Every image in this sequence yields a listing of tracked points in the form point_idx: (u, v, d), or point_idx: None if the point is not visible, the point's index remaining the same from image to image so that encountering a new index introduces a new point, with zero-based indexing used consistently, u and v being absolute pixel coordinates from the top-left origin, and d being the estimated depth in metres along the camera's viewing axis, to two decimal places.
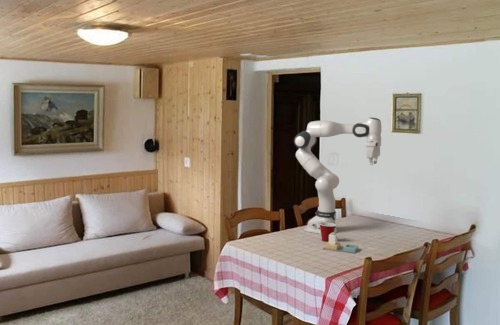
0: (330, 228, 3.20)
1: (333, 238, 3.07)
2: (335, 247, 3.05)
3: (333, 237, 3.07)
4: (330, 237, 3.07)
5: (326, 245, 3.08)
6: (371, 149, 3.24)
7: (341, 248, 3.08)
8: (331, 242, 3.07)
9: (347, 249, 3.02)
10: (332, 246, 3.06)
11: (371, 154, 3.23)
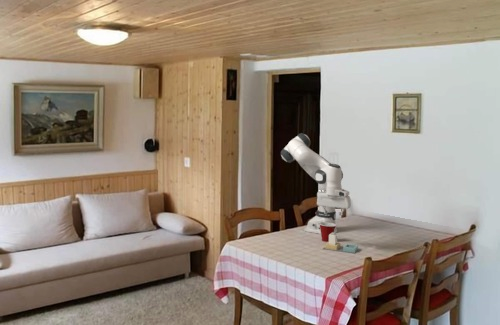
0: (330, 228, 3.20)
1: (333, 238, 3.07)
2: (335, 247, 3.05)
3: (333, 237, 3.07)
4: (330, 237, 3.07)
5: (326, 245, 3.08)
6: (349, 198, 3.03)
7: (341, 248, 3.08)
8: (331, 242, 3.07)
9: (347, 249, 3.02)
10: (332, 246, 3.06)
11: (350, 203, 3.03)
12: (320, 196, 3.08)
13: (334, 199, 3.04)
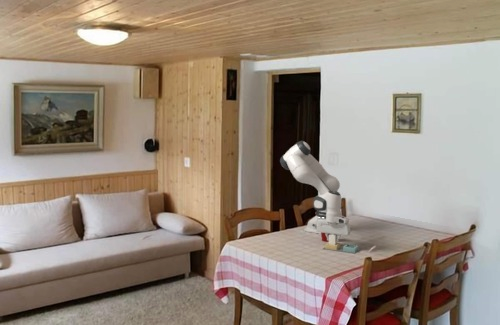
0: None
1: (333, 238, 3.07)
2: (335, 247, 3.05)
3: (333, 237, 3.07)
4: (330, 237, 3.07)
5: (326, 245, 3.08)
6: (349, 225, 3.04)
7: (341, 248, 3.08)
8: (331, 242, 3.07)
9: (347, 249, 3.02)
10: (332, 246, 3.06)
11: None
12: (320, 222, 3.10)
13: (334, 226, 3.06)
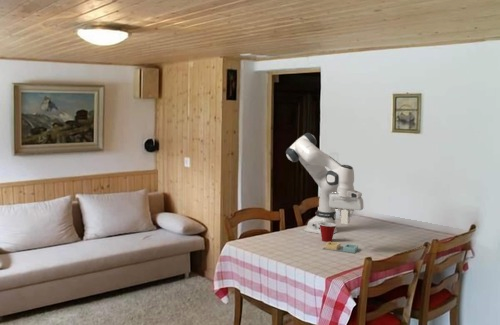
0: (330, 228, 3.20)
1: (345, 213, 3.00)
2: (335, 247, 3.05)
3: (346, 212, 3.00)
4: (342, 212, 3.01)
5: (326, 245, 3.08)
6: (362, 199, 2.98)
7: (341, 248, 3.08)
8: (344, 217, 3.01)
9: (347, 249, 3.02)
10: (332, 246, 3.06)
11: None
12: (332, 197, 3.04)
13: (346, 201, 3.00)
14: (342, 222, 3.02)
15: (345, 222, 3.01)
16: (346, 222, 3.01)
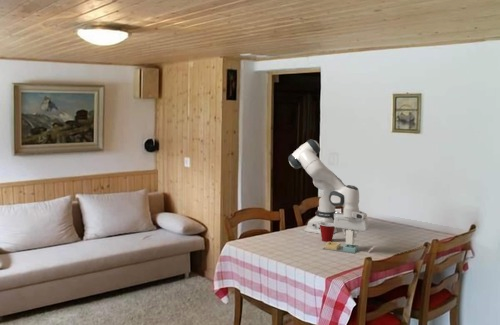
0: (330, 228, 3.20)
1: (350, 234, 3.01)
2: (335, 247, 3.05)
3: (350, 232, 3.01)
4: (347, 232, 3.02)
5: (326, 245, 3.08)
6: (367, 220, 2.99)
7: (341, 248, 3.08)
8: (348, 238, 3.02)
9: (347, 249, 3.02)
10: (332, 246, 3.06)
11: (367, 225, 2.99)
12: (337, 218, 3.04)
13: (351, 221, 3.00)
14: (347, 242, 3.02)
15: (350, 242, 3.02)
16: (351, 242, 3.01)
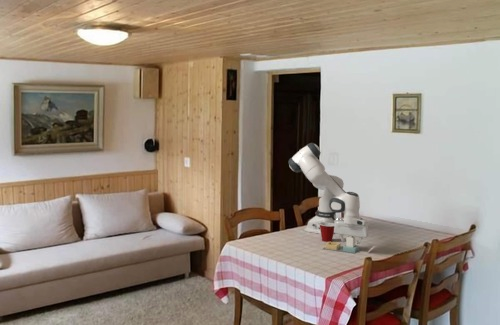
0: (330, 228, 3.20)
1: (351, 241, 3.02)
2: (335, 247, 3.05)
3: (351, 239, 3.01)
4: (348, 239, 3.02)
5: (326, 245, 3.08)
6: (367, 227, 2.99)
7: (341, 248, 3.08)
8: (349, 244, 3.02)
9: (347, 249, 3.02)
10: (332, 246, 3.06)
11: (368, 232, 3.00)
12: (337, 224, 3.05)
13: (352, 228, 3.01)
14: None
15: None
16: None
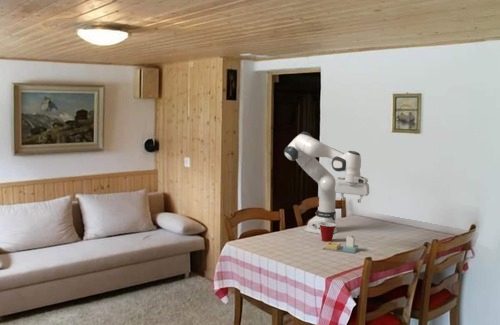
0: (330, 228, 3.20)
1: (351, 241, 3.02)
2: (335, 247, 3.05)
3: (351, 239, 3.01)
4: (348, 239, 3.02)
5: (326, 245, 3.08)
6: (368, 185, 3.04)
7: (341, 248, 3.08)
8: (349, 244, 3.02)
9: (347, 249, 3.02)
10: (332, 246, 3.06)
11: None
12: (338, 183, 3.09)
13: (353, 186, 3.06)
14: None
15: None
16: None
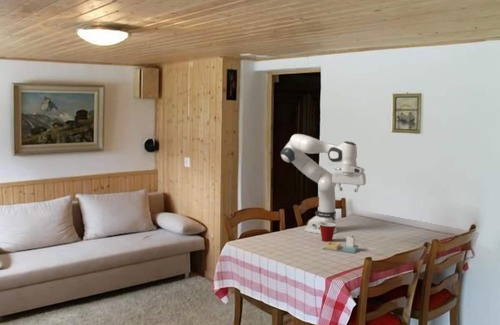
0: (330, 228, 3.20)
1: (351, 241, 3.02)
2: (335, 247, 3.05)
3: (351, 239, 3.01)
4: (348, 239, 3.02)
5: (326, 245, 3.08)
6: (364, 175, 3.07)
7: (341, 248, 3.08)
8: (349, 244, 3.02)
9: (347, 249, 3.02)
10: (332, 246, 3.06)
11: (365, 180, 3.08)
12: (335, 173, 3.13)
13: (349, 176, 3.09)
14: None
15: None
16: None
